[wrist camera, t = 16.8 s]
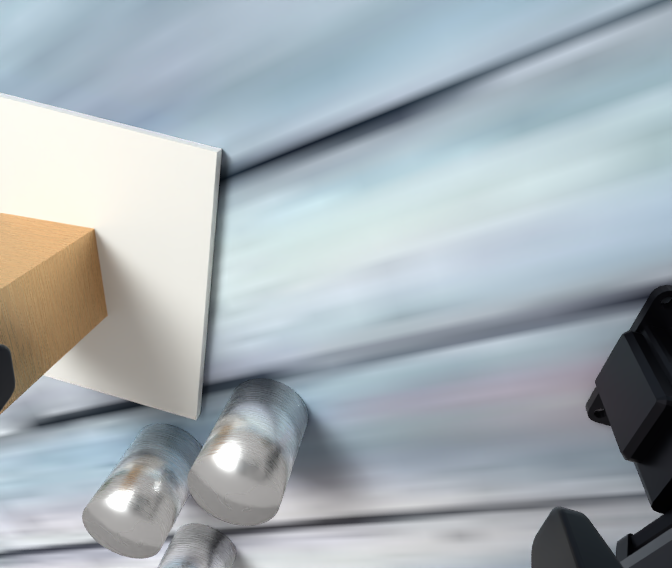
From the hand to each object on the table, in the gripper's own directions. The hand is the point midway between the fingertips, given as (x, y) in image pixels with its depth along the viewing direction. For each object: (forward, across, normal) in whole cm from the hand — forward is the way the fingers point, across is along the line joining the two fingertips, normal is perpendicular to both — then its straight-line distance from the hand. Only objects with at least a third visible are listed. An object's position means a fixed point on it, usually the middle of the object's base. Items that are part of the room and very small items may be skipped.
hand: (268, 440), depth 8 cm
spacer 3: (+13, +2, +12) cm, 18 cm away
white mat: (+13, +12, +7) cm, 19 cm away
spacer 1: (+13, +8, +18) cm, 23 cm away
